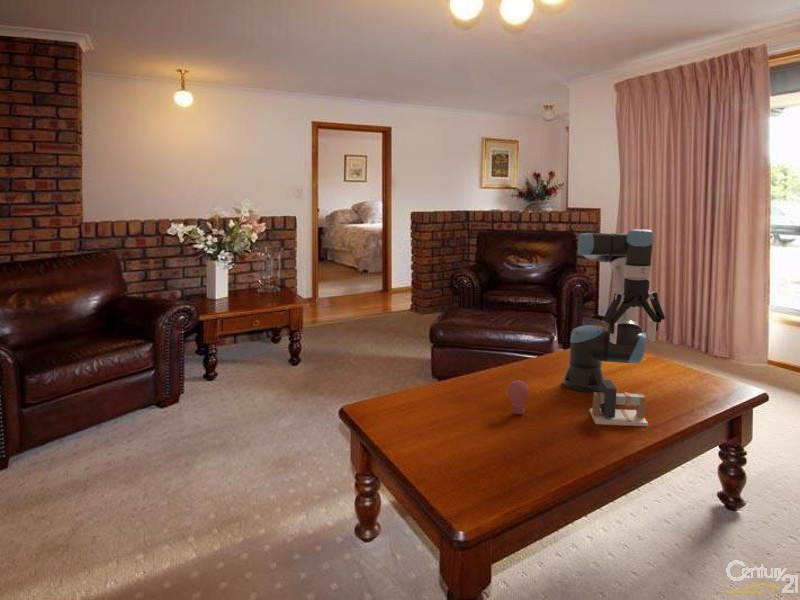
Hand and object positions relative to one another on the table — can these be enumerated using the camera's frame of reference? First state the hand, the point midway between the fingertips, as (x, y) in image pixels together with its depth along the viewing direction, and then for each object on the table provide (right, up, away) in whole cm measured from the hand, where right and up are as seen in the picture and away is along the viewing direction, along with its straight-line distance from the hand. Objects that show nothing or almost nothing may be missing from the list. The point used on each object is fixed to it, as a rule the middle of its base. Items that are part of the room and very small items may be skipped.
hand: (632, 341), depth 173 cm
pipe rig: (-4, -26, +2) cm, 26 cm away
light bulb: (-36, -25, +7) cm, 45 cm away
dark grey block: (-8, -24, +2) cm, 25 cm away
